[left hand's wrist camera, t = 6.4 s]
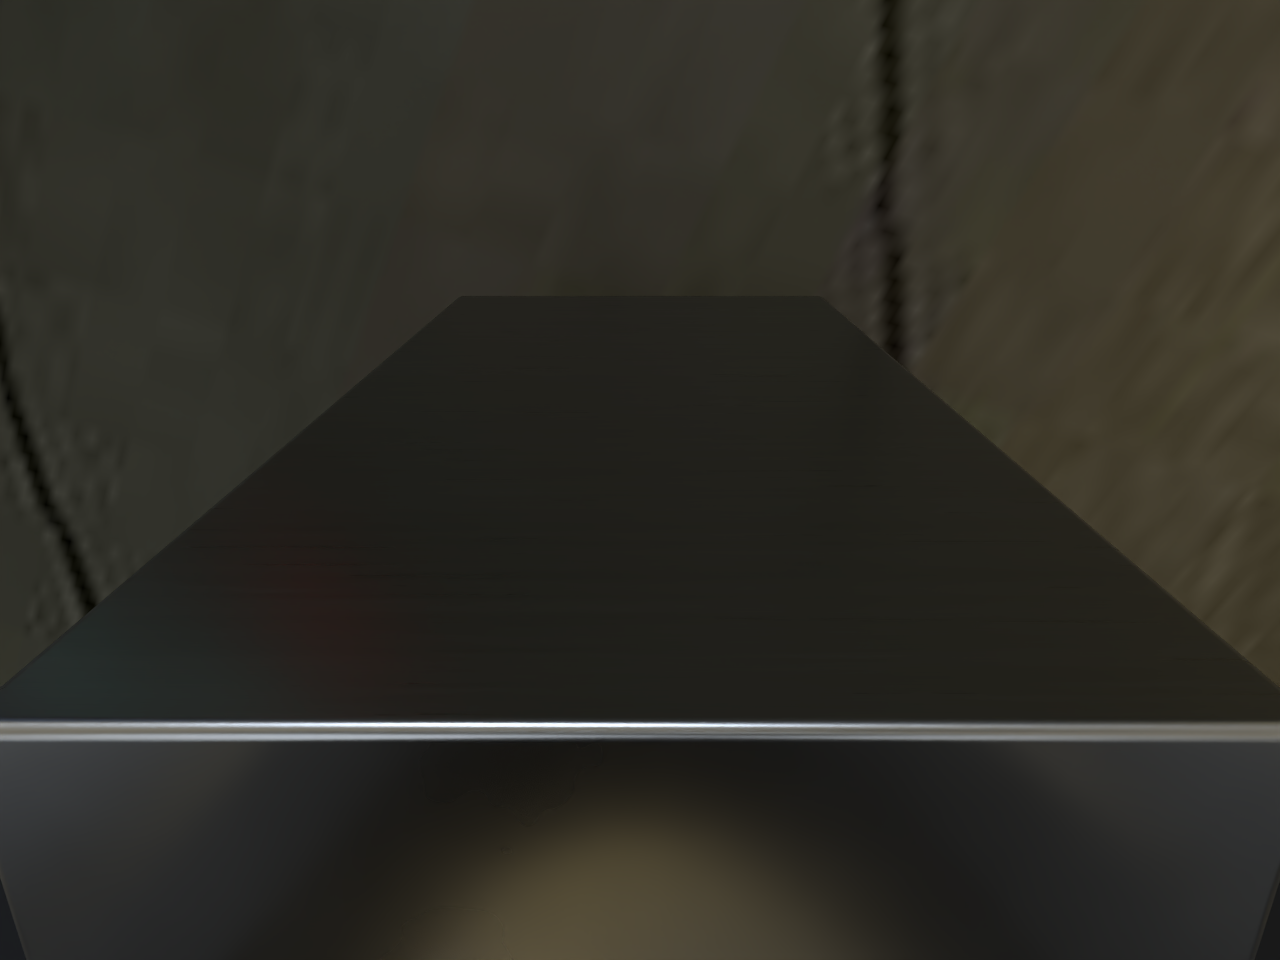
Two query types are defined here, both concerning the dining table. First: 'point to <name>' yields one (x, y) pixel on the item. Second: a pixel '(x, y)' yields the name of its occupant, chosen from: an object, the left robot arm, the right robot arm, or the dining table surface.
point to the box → (640, 681)
